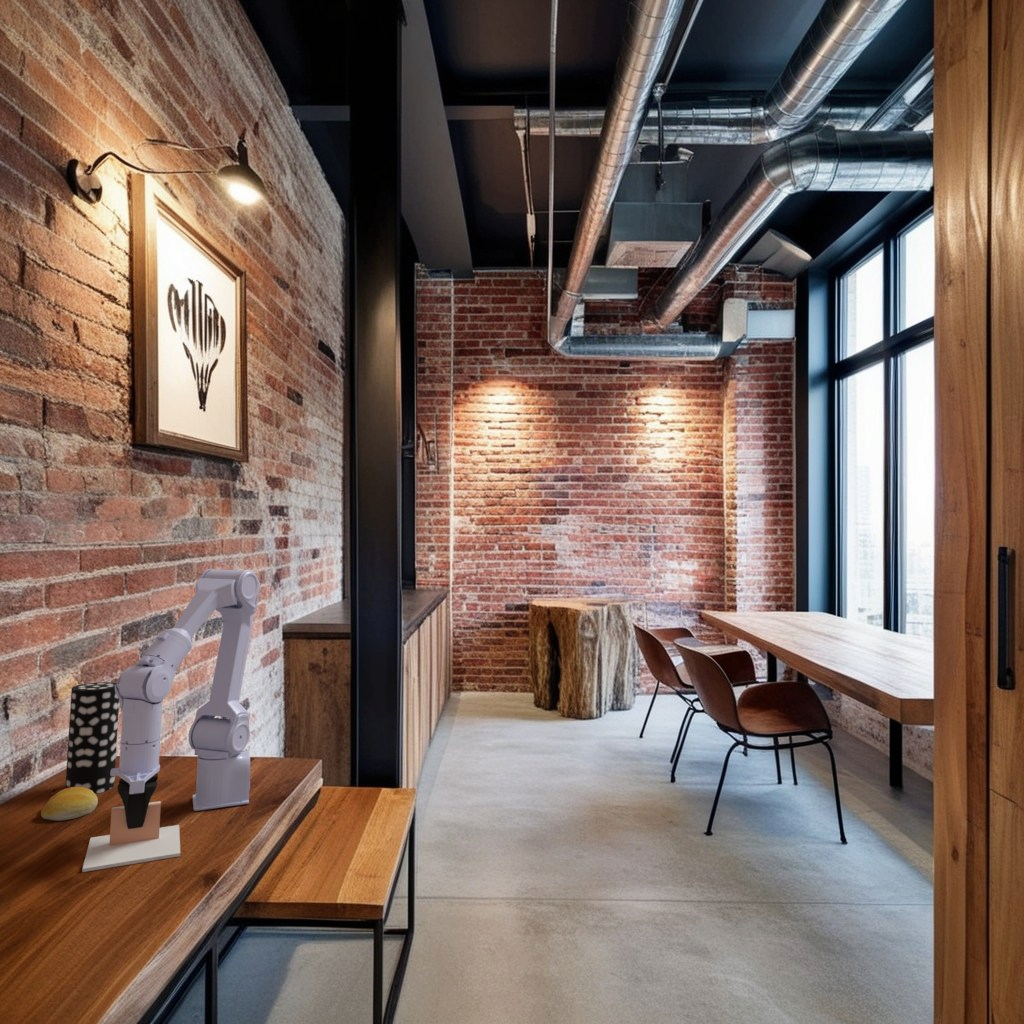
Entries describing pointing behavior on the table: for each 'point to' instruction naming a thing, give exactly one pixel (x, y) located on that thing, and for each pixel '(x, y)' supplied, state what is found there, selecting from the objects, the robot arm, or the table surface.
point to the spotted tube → (92, 736)
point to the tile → (125, 835)
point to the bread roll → (70, 804)
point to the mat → (132, 850)
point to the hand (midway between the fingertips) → (135, 825)
